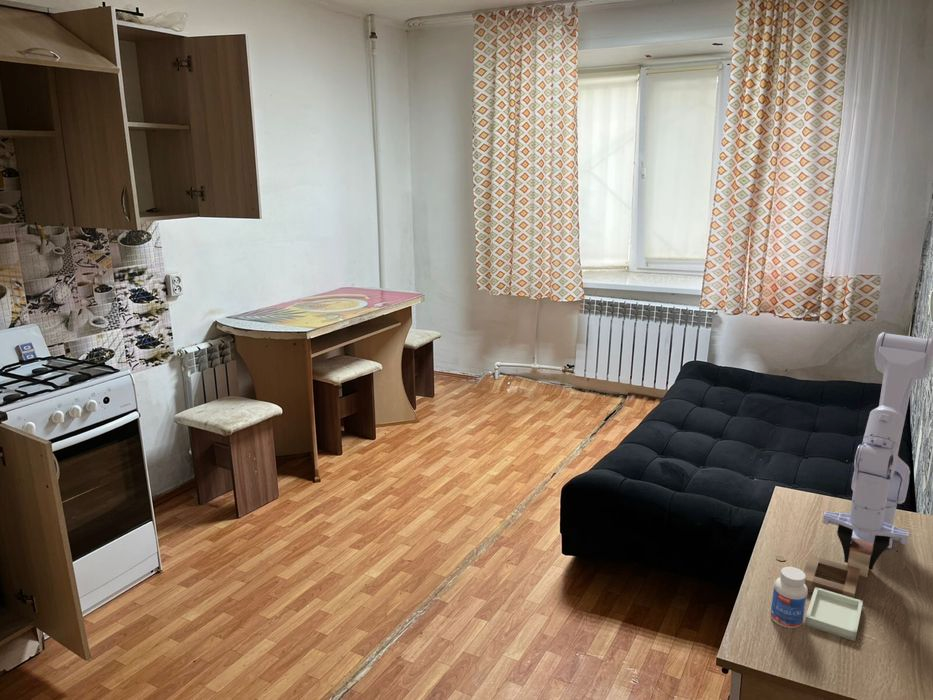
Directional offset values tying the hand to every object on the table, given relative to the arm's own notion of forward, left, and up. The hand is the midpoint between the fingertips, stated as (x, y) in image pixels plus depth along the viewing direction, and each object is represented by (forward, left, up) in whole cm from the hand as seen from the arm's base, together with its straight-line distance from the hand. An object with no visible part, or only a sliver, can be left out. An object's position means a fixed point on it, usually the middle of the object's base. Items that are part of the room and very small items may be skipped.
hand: (858, 563), depth 140 cm
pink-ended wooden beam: (0, 0, -1) cm, 1 cm away
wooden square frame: (+8, -4, -1) cm, 9 cm away
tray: (+18, -2, -1) cm, 18 cm away
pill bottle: (+23, -9, -2) cm, 25 cm away
